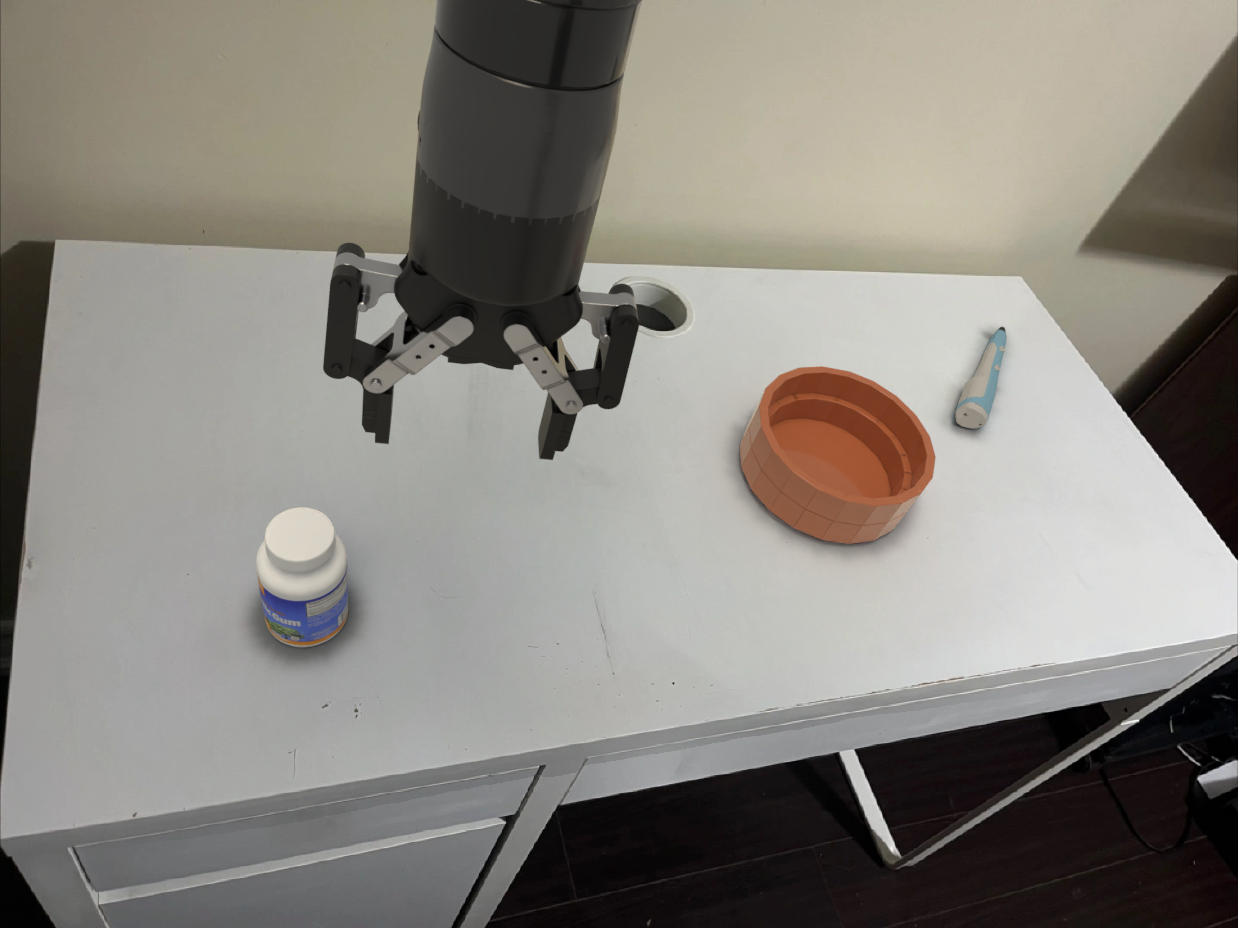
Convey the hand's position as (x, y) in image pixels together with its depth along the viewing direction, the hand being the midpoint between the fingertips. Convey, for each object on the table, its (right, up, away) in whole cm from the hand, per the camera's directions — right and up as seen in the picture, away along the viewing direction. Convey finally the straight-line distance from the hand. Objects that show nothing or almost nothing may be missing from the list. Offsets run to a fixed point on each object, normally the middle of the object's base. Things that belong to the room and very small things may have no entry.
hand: (466, 440), depth 46 cm
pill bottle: (-13, -12, +13) cm, 22 cm away
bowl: (+26, -2, +32) cm, 41 cm away
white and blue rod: (+47, +8, +46) cm, 66 cm away
